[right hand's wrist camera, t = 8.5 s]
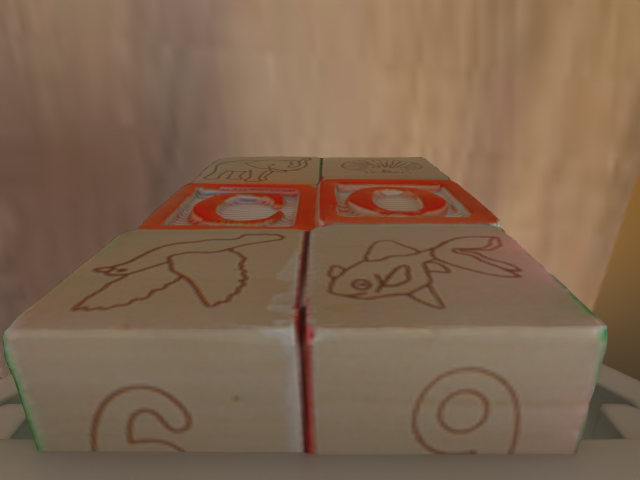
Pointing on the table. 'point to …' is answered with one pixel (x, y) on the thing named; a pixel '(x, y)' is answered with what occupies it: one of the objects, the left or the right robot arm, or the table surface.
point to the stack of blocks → (310, 324)
